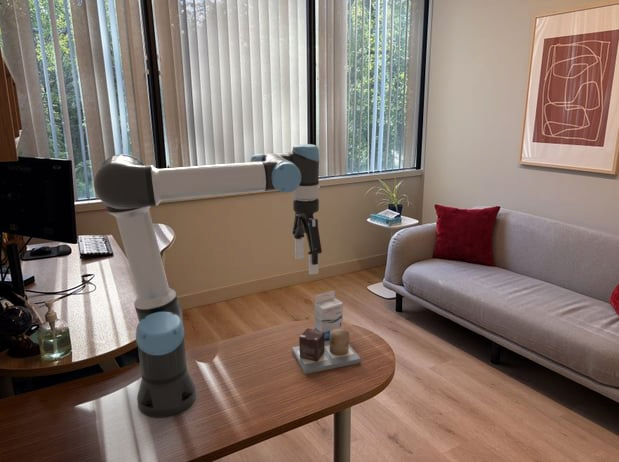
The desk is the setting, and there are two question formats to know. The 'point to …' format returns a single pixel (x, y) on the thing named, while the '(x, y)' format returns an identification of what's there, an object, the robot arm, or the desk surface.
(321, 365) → the grey tray with squares
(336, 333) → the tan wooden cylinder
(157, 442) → the desk surface
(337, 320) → the ink box
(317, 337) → the box
